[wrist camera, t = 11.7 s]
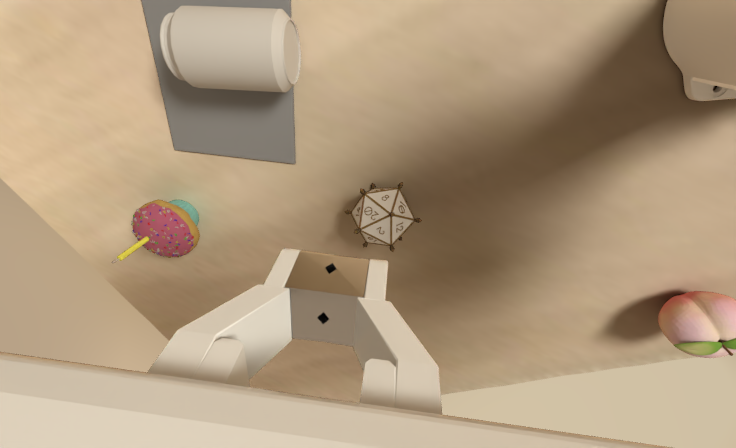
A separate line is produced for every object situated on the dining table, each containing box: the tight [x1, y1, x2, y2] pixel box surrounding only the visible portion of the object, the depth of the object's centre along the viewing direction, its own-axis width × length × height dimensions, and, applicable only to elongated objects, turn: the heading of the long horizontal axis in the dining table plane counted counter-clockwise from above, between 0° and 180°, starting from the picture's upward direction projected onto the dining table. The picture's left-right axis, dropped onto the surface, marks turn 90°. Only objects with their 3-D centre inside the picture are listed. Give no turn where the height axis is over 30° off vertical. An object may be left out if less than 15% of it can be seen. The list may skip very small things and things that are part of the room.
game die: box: [345, 182, 422, 252], centre depth 44 cm, size 9×8×10 cm
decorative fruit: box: [658, 291, 736, 358], centre depth 47 cm, size 9×8×10 cm
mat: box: [142, 0, 296, 164], centre depth 41 cm, size 16×20×1 cm
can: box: [160, 6, 301, 92], centre depth 36 cm, size 8×8×12 cm
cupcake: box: [112, 200, 200, 263], centre depth 47 cm, size 9×8×12 cm
